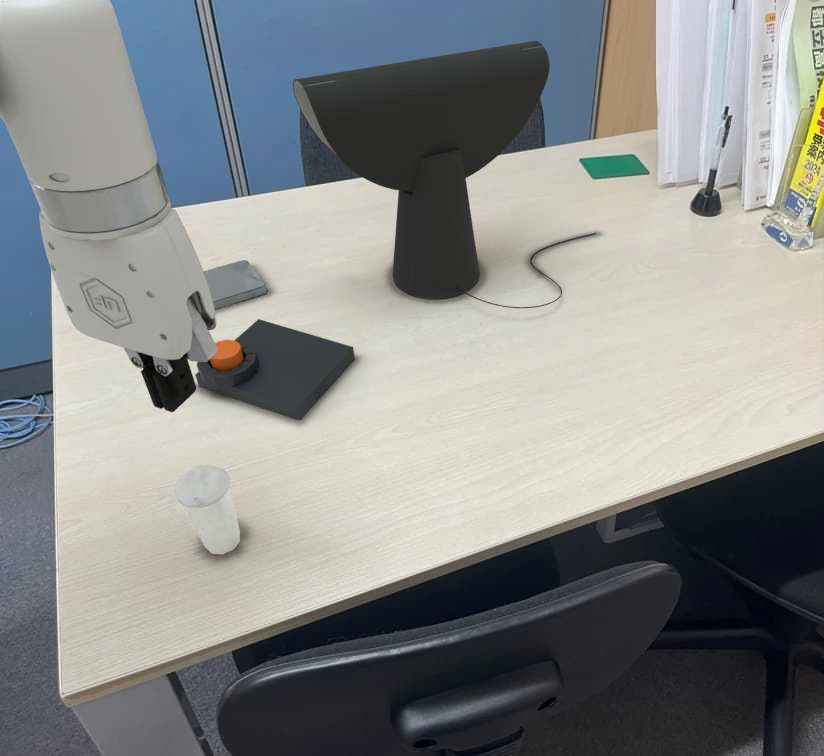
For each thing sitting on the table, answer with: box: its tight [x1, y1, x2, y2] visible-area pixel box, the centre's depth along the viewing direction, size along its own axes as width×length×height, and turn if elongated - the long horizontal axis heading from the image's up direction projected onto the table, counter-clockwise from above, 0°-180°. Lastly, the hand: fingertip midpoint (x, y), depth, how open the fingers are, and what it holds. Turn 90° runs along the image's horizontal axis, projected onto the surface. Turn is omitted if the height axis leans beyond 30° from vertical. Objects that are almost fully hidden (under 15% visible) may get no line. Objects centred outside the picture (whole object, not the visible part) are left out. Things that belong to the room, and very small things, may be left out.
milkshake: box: [174, 464, 241, 555], centre depth 64 cm, size 4×5×10 cm
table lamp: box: [292, 40, 596, 309], centre depth 95 cm, size 40×28×30 cm
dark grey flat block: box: [194, 318, 356, 421], centre depth 85 cm, size 14×13×4 cm
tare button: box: [210, 339, 244, 370], centre depth 82 cm, size 4×4×2 cm
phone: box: [203, 259, 268, 310], centre depth 97 cm, size 8×16×1 cm, turn 125°
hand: (176, 398), depth 58 cm, fingers closed
